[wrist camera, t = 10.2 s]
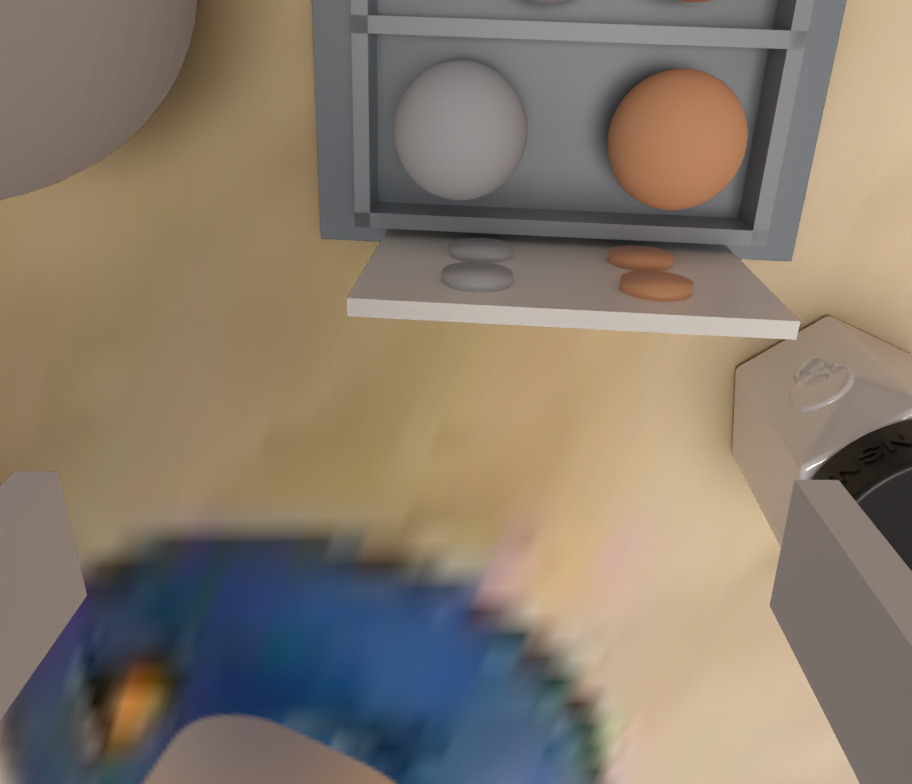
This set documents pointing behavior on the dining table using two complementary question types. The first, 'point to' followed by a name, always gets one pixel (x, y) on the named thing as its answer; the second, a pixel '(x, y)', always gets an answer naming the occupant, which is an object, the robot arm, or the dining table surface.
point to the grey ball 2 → (549, 1)
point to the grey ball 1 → (460, 130)
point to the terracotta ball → (677, 139)
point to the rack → (571, 162)
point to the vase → (81, 81)
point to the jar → (829, 425)
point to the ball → (695, 0)
